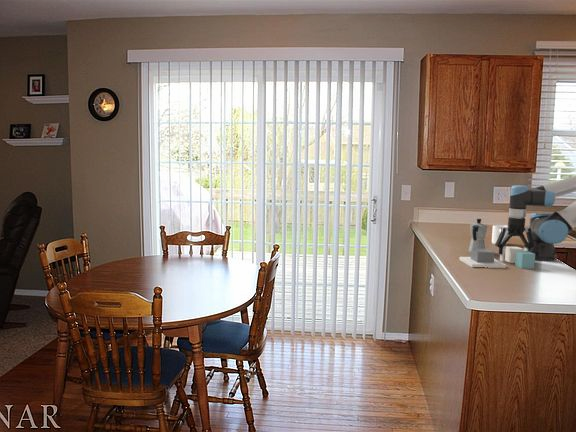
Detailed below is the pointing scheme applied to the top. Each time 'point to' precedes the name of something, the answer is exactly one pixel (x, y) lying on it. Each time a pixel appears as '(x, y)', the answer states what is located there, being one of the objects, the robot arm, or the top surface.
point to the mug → (497, 233)
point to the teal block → (525, 259)
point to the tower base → (490, 265)
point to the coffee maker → (477, 235)
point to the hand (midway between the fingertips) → (513, 261)
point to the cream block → (511, 254)
